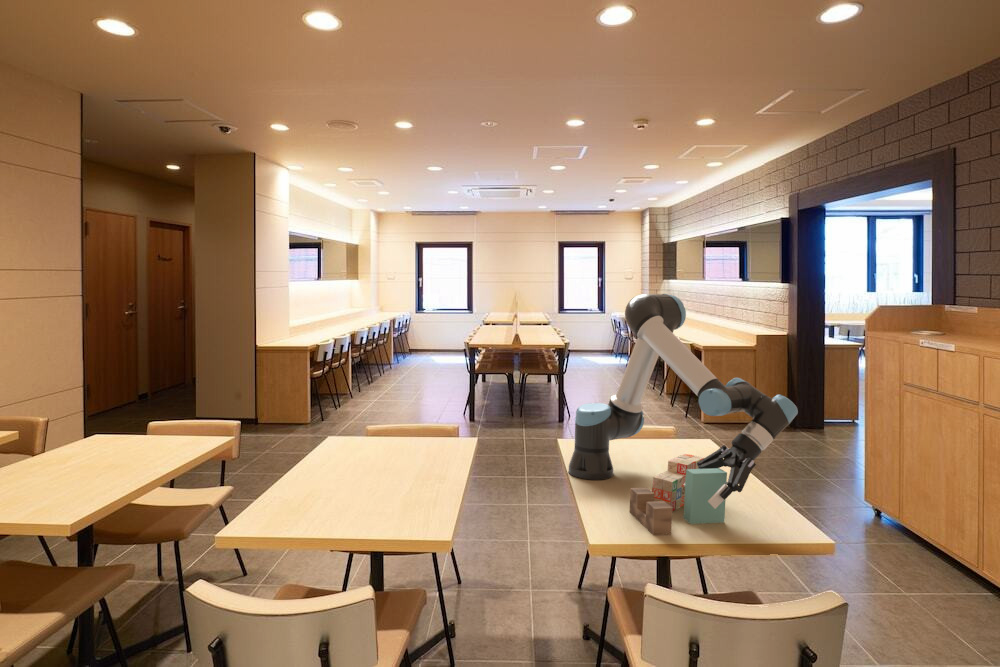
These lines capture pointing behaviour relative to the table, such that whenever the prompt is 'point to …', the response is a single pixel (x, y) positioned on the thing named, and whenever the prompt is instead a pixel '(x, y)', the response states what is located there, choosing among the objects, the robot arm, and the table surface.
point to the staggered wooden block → (650, 511)
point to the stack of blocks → (674, 480)
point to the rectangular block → (703, 495)
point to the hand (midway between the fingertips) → (698, 496)
